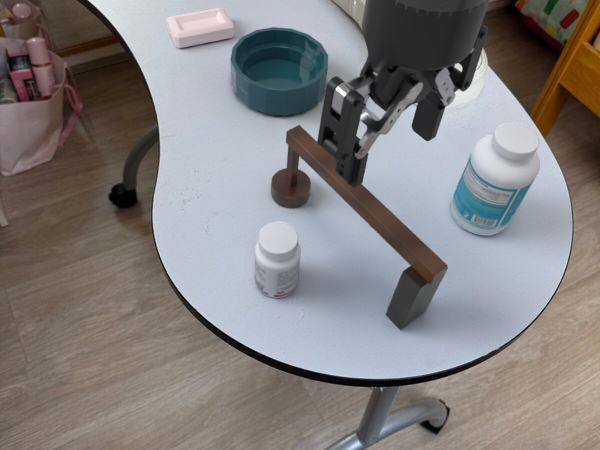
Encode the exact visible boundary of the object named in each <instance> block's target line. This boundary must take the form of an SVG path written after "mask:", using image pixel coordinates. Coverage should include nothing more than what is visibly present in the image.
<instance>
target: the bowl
mask: <svg viewBox="0 0 600 450" xmlns="http://www.w3.org/2000/svg"><path fill="white" fill-rule="evenodd" d="M328 69H329V54H328V53H327V51H326V49H325V48H324V46H323V44H322V43H321V42H320V41H318V40H317V39H315V38H314V37H312V35H310V34H308V33H306V32H302V31H300V30H297V29H294V28H289V27H278V26H277V27H275V26H272V27H271V26H270V27H266V28H261V29H259V28H258V29H256V30H254V31H251V32H250V33H247V34H245V35H243V36H241V37H240V38H239V39H238V41H237V42H236V43H235V44H234V45H233V47H232V49H231V55H230V79H231V80H230V83H231V87H232V89H233V92H234V94H235V96H236V98H237V99H238V100H240V101H241V102H242V103H243V104H244V105H246V107H248V108H250V109H253V110H254V111H257V112H259V113H263V114H265V115H266V114H267V115H274V116H275V115H276V116H289V115H293V114H299V113H303V112H305V111H307V110H308V109H311V108H312V107H314V106H315V105H317V104H318V103H319V102H320V100H321V98H322V97H323V95H325V91H326V86H327V78H328Z"/></svg>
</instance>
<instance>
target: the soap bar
mask: <svg viewBox="0 0 600 450" xmlns="http://www.w3.org/2000/svg"><path fill="white" fill-rule="evenodd" d="M165 20H166V27H167V31H168V33H169V36H170V37H171V38H172V42H173V43H174V46H175V48H178V49H183V48H187V47H192V46H198V45H202V44H206V43H211V42H217V41H223V40H226V39H232V38H234V36H235V25H234V23H233V21H232V19H231V18H230V16H229V14H228V13H227V11H226V9H225V8H224V7H222V6H221V7H215V8H210V9H205V10H199V11H192V12H188V13H183V14H177V15H172V16H171V15H170V16H168V17H167V18H166V19H165Z"/></svg>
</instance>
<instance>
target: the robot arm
mask: <svg viewBox="0 0 600 450" xmlns="http://www.w3.org/2000/svg"><path fill="white" fill-rule="evenodd" d="M364 1H365V2H364V8H363V15H362V22H361V31H362V35H363V38H364V41H365V45H366V49H367V56H366V57H367V58H366V60H365V62H364V64H363V66H362V69H361V70H360V72H359V75H358V76H357V77H354V78H353V79H350V80H349V81H345V80H344V79H342V78H341V77H340V76H337V75H335V76H333V77H331V78H330V79H329V80H328V81H327V82H326V86H325V92H324V98H323V104H322V110H321V116H320V122H319V127H318V134H317V140H316V141H317V143H318V144H319V145H320V146H321V147H322V148H323V149H324V150H326V151H327V152H328V153H329V154H330V155H331V156H332V157H333V158H335V159H336V160H337V163H336V169H335V172H336V174H337V175H338V176H339V177H340V178H341V179H342V180H344V181H345V182H346V183H347V184H348V185H349V184H350V185H351V186H352V187H354V188H355V187H357V186H358V185H360V184H362V185H363V182H364V178H365V172H366V169H367V164H368V159H369V151H370V150H371V148H372V147H373V146H374V144H375V143H376V141H377V139H379V136H380V135H382V136H383V135H387V134H389V133H390V132H391V130H392V128H393V127H394V125H395V124H396V122H397V121H398V119H399V118H400V117H401V115H402V113H403V112H405V111H407V109H408V108H410V106H412V105H415V104H417V105H416V109H415V111H414V115H413V119H412V122H411V130H412V131H413V132H414V133H415V134H417V135H418V136H419V137H420V138H422V139H423V140H424V141H426V142H430V141H431V140H433V139H435V138H436V137H437V134H438V131H439V129H440V125H441V123H442V119H443V116H444V113H445V110H446V107H448V106H450V105H451V104H452V103H453V102H454V100H455V99H456V92H457V91H460V92H462V93H463V92H466V91H467V90H468V89H469V88H470V87H471V85H472V83H473V81H474V77H475V74H476V71H477V68H478V64H479V61H480V58H481V55H482V52H483V49H484V46H485V42H486V39H487V36H488V34H489V27H487V26H486V25H484V24H483V22H484V18H485V15H486V12H487V10H488V6H489V3H490V0H364ZM457 64H459V65H460V66H461V70H460V69H458V68H457V67H455V66H456V65H457ZM369 98H370V99H371V100H372V102H373V103H374V104H375V105H377V107H379V108H380V109H381V110H383V111H384V114H383V115H382V117H380V118H379V117H378V116H377V115H376V114H375V113H374V112H372V111H371V110H370V109H368V107H367V102H368V101H369ZM360 122H361V123H363V124H364V125H365V126H366V131H365V132H364V133H363V135H362V136H361V138H360V137H358V131H359V127H360Z"/></svg>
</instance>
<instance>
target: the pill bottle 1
mask: <svg viewBox="0 0 600 450" xmlns="http://www.w3.org/2000/svg"><path fill="white" fill-rule="evenodd" d="M301 249H302V248H301V245H300V243H299V233H298V231H297V230H296V228H295V227H294V226H293V225H292V224H290V223H288V222H285V221H279V220H278V221H277V220H276V221H272V222H268V223H267V224H265V225H264V226H263V227H262V228H261V229H260V230H259V233H258V240H257V242H256V244H255V247H254V283H255V287H256V288H257V289H258V291H259V292H260V293H261V294H263V295H264V296H266V297H269V298H273V299H280V298H284V297H287V296H289V295H290V294H291V293H293V292H294V290H295V289H296V287H297V285H298V280H299V274H300V264H301V254H302V253H301V252H302V250H301Z"/></svg>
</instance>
